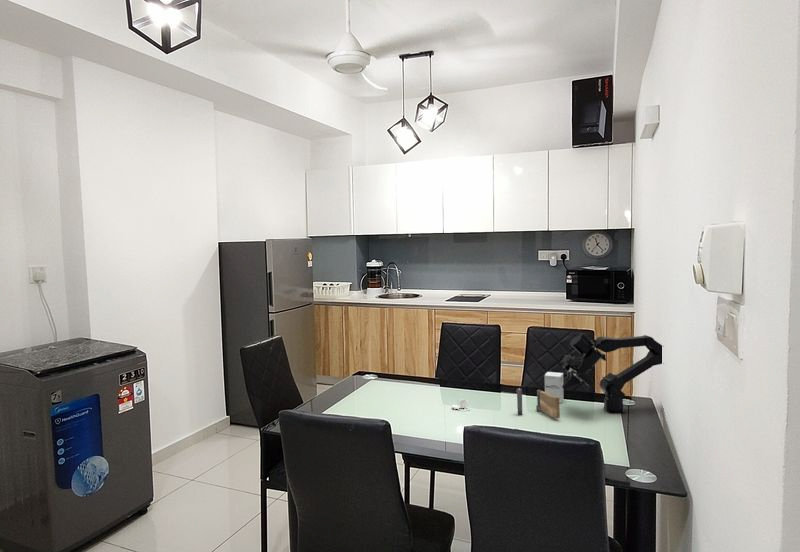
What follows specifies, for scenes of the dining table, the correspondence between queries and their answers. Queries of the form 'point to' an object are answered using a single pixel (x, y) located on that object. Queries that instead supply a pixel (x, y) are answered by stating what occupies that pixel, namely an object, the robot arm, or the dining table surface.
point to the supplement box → (554, 384)
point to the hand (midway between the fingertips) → (563, 388)
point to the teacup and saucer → (461, 404)
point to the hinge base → (538, 408)
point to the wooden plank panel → (548, 403)
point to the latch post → (519, 401)
